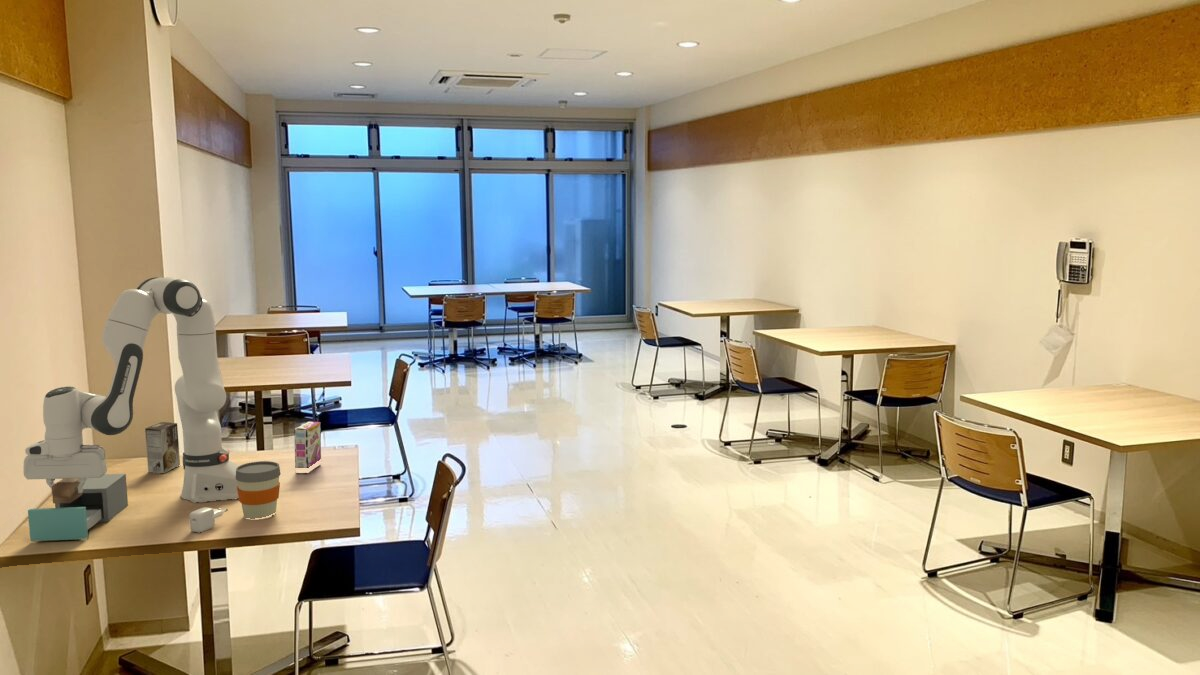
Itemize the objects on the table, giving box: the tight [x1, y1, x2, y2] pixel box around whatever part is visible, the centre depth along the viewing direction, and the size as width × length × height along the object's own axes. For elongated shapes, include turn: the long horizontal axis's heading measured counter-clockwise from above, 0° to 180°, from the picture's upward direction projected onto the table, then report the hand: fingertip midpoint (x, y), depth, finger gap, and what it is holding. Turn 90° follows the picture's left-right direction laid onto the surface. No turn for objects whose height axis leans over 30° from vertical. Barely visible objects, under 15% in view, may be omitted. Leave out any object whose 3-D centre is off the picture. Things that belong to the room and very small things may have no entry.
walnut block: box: [51, 478, 82, 504], centre depth 230 cm, size 4×7×5 cm, turn 9°
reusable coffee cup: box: [235, 460, 281, 519], centre depth 247 cm, size 13×12×15 cm
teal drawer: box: [27, 507, 102, 542], centre depth 231 cm, size 14×14×9 cm
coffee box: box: [144, 421, 181, 474], centre depth 289 cm, size 9×6×16 cm
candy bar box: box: [294, 421, 322, 469], centre depth 291 cm, size 11×5×16 cm, turn 174°
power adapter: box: [189, 506, 229, 533], centre depth 238 cm, size 11×5×6 cm, turn 160°
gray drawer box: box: [54, 473, 129, 523], centre depth 245 cm, size 14×14×10 cm
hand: (67, 493), depth 230 cm, fingers closed on walnut block, 4 cm apart
